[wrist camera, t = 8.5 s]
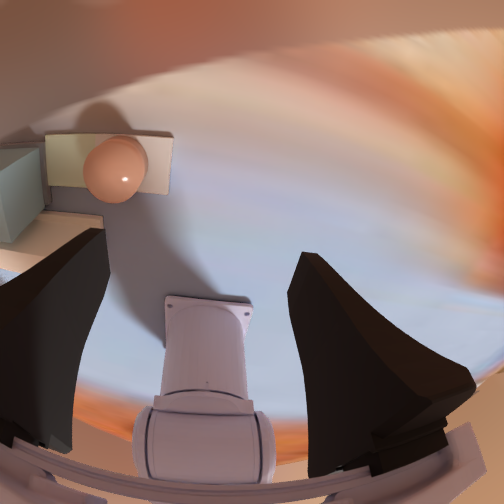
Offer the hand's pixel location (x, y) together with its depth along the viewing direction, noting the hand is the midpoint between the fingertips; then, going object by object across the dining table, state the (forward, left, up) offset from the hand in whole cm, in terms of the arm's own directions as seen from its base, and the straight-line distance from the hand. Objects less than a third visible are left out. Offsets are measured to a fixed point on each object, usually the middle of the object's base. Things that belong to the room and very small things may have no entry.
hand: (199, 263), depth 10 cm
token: (0, +6, -10) cm, 11 cm away
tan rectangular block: (-6, +14, -10) cm, 18 cm away
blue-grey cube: (-1, +16, -9) cm, 18 cm away
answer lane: (0, +8, -10) cm, 13 cm away
